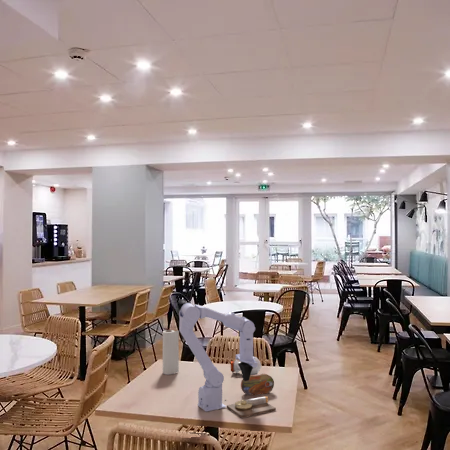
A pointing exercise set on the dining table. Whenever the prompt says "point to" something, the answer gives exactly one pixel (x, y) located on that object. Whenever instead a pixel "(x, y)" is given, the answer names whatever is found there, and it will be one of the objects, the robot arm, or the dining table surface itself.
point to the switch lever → (250, 403)
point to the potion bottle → (236, 369)
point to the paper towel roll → (170, 352)
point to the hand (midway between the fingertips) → (246, 380)
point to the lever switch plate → (252, 410)
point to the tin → (257, 384)
